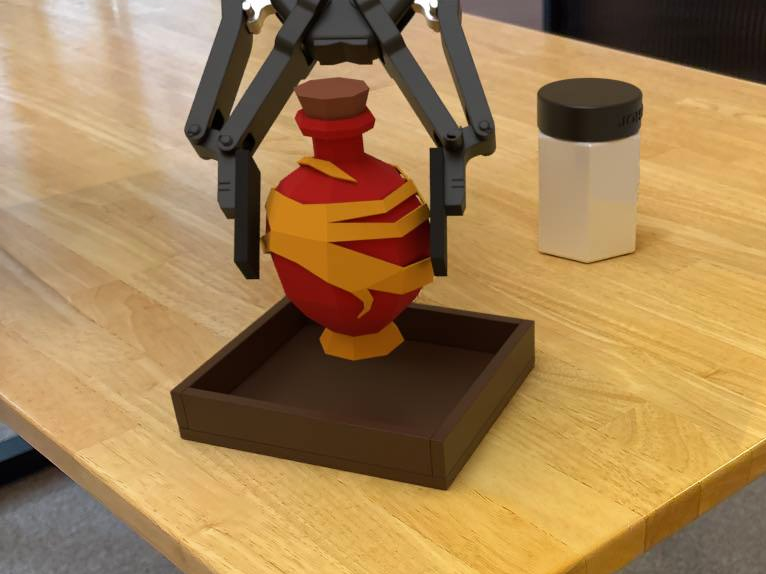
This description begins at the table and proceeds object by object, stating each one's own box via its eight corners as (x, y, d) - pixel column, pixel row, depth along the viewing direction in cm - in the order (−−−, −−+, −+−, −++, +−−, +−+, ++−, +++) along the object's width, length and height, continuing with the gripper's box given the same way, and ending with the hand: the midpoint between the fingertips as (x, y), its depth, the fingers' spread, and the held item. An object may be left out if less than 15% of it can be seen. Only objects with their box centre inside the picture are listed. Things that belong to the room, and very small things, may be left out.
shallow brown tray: (180, 438, 66) (169, 391, 64) (304, 327, 78) (297, 284, 76) (446, 490, 62) (442, 441, 60) (535, 364, 73) (534, 320, 71)
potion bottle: (246, 337, 68) (197, 87, 58) (382, 288, 73) (357, 52, 64) (339, 401, 61) (301, 132, 52) (480, 343, 67) (468, 89, 58)
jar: (639, 264, 86) (647, 108, 79) (536, 264, 86) (536, 108, 79) (632, 221, 93) (640, 75, 86) (538, 221, 93) (537, 75, 86)
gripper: (535, -52, 68) (543, 289, 65) (171, -47, 68) (163, 295, 65) (536, -142, 60) (544, 239, 58) (127, -137, 60) (116, 246, 57)
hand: (343, 269), depth 61 cm, fingers closed on potion bottle, 10 cm apart
